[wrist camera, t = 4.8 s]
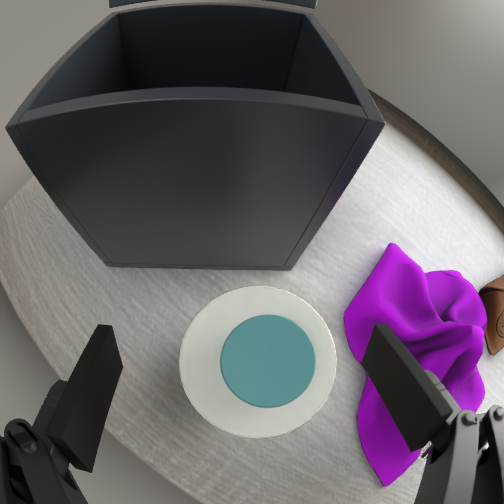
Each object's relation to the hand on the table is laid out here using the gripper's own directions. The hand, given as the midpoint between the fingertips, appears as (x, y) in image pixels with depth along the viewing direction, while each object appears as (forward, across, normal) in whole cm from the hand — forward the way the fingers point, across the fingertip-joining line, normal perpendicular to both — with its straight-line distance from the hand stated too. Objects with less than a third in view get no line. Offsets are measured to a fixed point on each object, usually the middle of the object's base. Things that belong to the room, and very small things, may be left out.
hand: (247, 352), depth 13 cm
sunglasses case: (+6, +35, -4) cm, 36 cm away
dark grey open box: (+14, -3, +5) cm, 15 cm away
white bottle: (+4, 0, -5) cm, 6 cm away
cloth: (+3, +17, -6) cm, 18 cm away
